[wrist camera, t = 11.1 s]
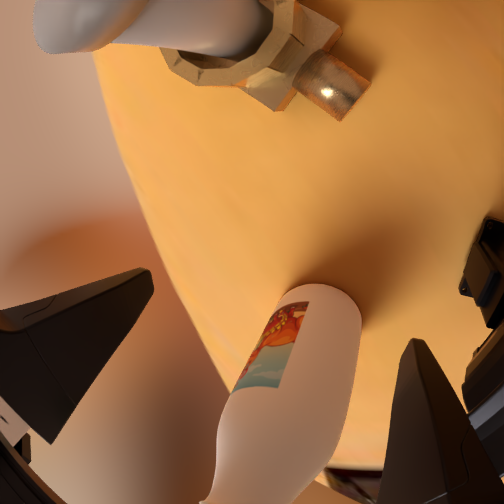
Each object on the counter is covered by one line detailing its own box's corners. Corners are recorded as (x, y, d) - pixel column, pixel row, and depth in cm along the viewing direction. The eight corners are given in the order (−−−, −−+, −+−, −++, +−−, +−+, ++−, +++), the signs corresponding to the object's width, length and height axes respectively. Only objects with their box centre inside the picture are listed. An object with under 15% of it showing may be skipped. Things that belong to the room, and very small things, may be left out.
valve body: (411, 37, 12) (425, 14, 8) (320, 148, 18) (304, 162, 14) (247, -48, 12) (213, -77, 8) (177, 54, 18) (131, 49, 14)
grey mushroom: (276, -11, 12) (140, -110, 2) (286, 59, 14) (138, 5, 4) (201, 7, 14) (38, -30, 4) (209, 72, 16) (33, 77, 6)
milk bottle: (351, 272, 21) (262, 561, 5) (369, 343, 24) (312, 567, 8) (265, 287, 25) (127, 499, 9) (293, 350, 28) (204, 536, 12)
